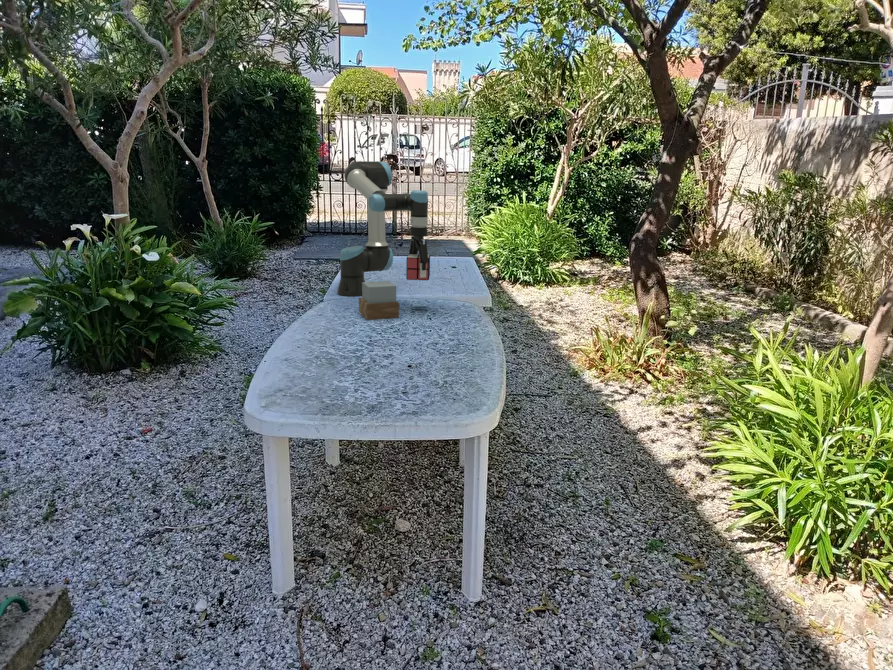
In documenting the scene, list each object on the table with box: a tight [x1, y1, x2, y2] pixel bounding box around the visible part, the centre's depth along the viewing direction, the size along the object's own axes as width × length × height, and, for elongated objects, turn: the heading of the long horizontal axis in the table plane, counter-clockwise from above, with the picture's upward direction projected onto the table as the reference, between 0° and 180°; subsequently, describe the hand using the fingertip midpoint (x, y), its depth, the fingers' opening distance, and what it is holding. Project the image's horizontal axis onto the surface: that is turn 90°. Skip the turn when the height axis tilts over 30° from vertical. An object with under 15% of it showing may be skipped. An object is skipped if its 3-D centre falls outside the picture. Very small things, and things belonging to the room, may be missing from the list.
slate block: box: [361, 280, 397, 304], centre depth 275 cm, size 12×12×7 cm
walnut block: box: [358, 297, 400, 321], centre depth 276 cm, size 14×14×7 cm
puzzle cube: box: [405, 253, 431, 281], centre depth 284 cm, size 10×10×10 cm
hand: (418, 274), depth 285 cm, fingers closed on puzzle cube, 12 cm apart
